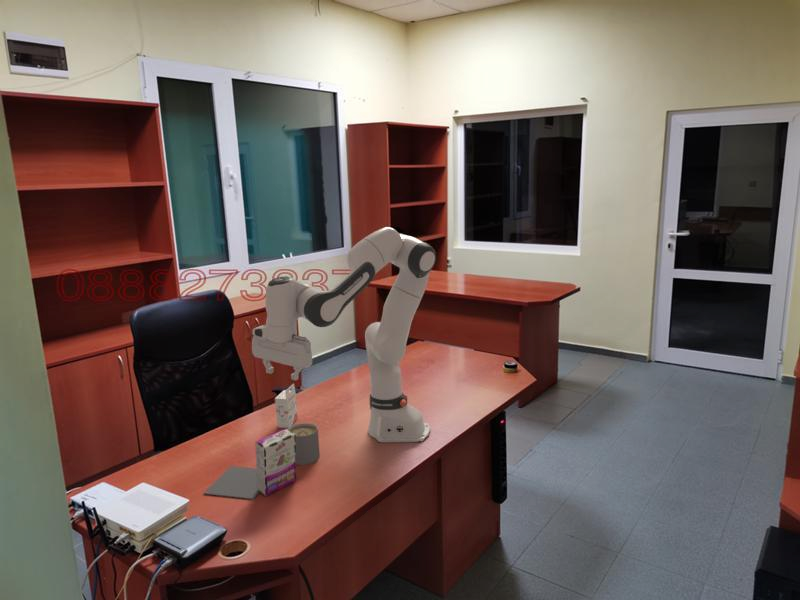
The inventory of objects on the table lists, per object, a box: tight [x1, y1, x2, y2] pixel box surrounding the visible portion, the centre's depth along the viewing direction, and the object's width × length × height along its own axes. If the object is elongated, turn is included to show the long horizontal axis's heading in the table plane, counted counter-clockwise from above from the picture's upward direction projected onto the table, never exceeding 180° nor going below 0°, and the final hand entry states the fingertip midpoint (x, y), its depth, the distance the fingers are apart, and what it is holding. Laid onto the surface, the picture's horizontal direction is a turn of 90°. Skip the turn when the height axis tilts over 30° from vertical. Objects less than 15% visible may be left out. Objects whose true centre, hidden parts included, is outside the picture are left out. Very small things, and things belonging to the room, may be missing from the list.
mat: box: [203, 465, 261, 501], centre depth 172 cm, size 16×16×1 cm
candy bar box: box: [255, 428, 297, 497], centre depth 167 cm, size 11×5×16 cm, turn 138°
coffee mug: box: [287, 422, 320, 466], centre depth 187 cm, size 13×10×10 cm
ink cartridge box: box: [274, 383, 298, 429], centre depth 211 cm, size 9×5×15 cm, turn 168°
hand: (282, 376), depth 169 cm, fingers open, 8 cm apart
